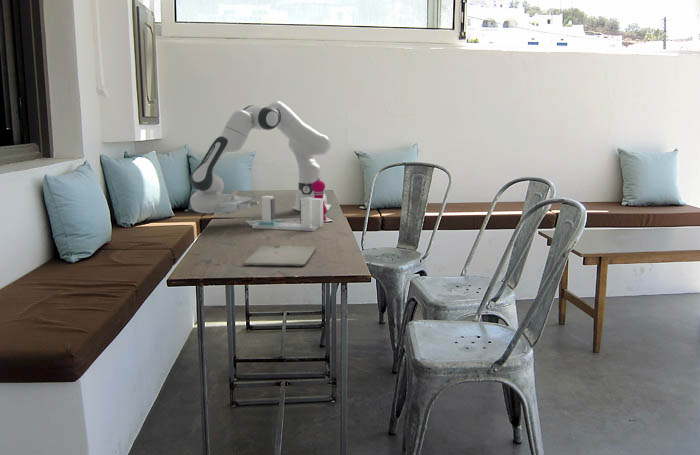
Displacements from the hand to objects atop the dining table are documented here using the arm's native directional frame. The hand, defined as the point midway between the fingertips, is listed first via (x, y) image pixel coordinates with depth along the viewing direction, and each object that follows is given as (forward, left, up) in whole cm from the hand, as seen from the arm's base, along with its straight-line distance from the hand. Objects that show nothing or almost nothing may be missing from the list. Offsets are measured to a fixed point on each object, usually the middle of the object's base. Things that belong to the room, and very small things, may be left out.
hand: (253, 205), depth 273 cm
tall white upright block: (0, +7, -8) cm, 10 cm away
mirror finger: (-8, +27, -9) cm, 29 cm away
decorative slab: (+52, +34, -10) cm, 63 cm away
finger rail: (0, +15, -9) cm, 17 cm away
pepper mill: (-22, +23, -10) cm, 33 cm away
